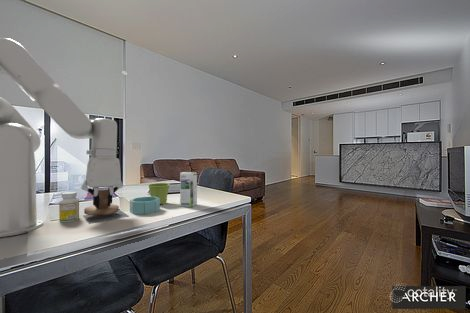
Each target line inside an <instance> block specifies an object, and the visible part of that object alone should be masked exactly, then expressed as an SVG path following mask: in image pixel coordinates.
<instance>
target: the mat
mask: <svg viewBox="0 0 470 313" xmlns="http://www.w3.org/2000/svg"><path fill="white" fill-rule="evenodd" d="M82 217H83V218H84V219H85V221H86V222H87V223H88V224H89V225H90V224H95V223H101V222H107V221H112V220H118V219H124V218H128V217H130V216H129V215H128V214H126V213H125V212H124V211H122V210H121V209H119V210H118V211H117V212H115V213H112V214H108V215H87V214H85V215H82Z"/></svg>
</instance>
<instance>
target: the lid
mask: <svg viewBox="0 0 470 313" xmlns="http://www.w3.org/2000/svg"><path fill="white" fill-rule="evenodd" d="M108 195H109V190H108V188H100V189H98V196H99V207H98V208H96V207H95V205H93V204H92V205H88V206H86V207H85V208H84V214H85V215H108V214H112V213H115V212H117V211H118V210H120V208H119V205H117V204H113V203H112V204H110V207H108Z"/></svg>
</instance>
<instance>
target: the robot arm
mask: <svg viewBox="0 0 470 313" xmlns="http://www.w3.org/2000/svg"><path fill="white" fill-rule="evenodd" d="M0 75H5V76H8V77H9V78H10V79H11V80H12V81H13V82H14V83H15V84H16V86H18V87H19V88H20V89H21V91H22V92H24V93H25V95H27V97H29V99H30V100H31V101H32V102H34V103H35V104H37V105H38V106H39V107H40V108H41V109H42V110H43V111H44V112H45V113H46V114H47V115H48V116H49V117H50V118H51V119H52V120H53V121H54V122H55V124H57V125H58V126H59V127H60V128H61V129H62V130H63V131H64V133H65V134H67V135H68V136H69V137H71V138H73V139H77V140H80V139H82V140H84V139H91V148H90V150H88V149H87V150H86V155H89V156H90V157H89V159H88V160H87V161H88V162H87V165H86V166H87V167H86V174H85V180H84V182H83V183H82V185H81V186H80V189H81V190H83V191H85V192H87V193H89V194H91V195H92V206H93V205H95V207H96V208H98V207H99V196H98V189H99V188H107V189H108V190H109V195H108V207H110V204H113V195H114V194H115V193H116V192H117V191H118V190H120V189H122V188H123V187H125V186H124V183H123V181H122V179H121V177H122V176H121V175H122V174H121V164H120V163H121V162H120V159H119V158H117V144H118V142H117V141H118V123H117V121H115V120H114V119H109V118H100V117H99V118H95V119H90V118H89V117H88V116H87V115H86V114H85V113H84V112H83V111H82V109H80V107H79V106H78V105H77V104H76V102H74V101H73V100H72V99H71V97H70V96H68V94H66V92H65V91H64V90H63V89H62V88H61V86H60V85H59V84H58V82H56V80H55V79H54V78H53V77H52V76H51V75H50V74H49V73H48V72H47V71H46V70H45V68H43V67H42V65H41V64H40V63H39V62H38V61H37V60H36V59H35V58H34V57H33V56H32V55H31V53H30V52H29V51H28V50H27V49H26V48H25V47H24V46H23V45H21V43H19V42H17V41H16V40H13V39H11V38H6V37H0ZM40 145H41V138H40V135H39V133H38V132H37V131H36V130H35V129H34V128H33V127H32V126H31V125H30V123H29V122H28V121H27V120H26V119H25V118H24V116H23V115H22V114H21V113H20V112H19V111H18V110H17V109H16V108H15V107H14V106H13V105H12V104H11V103H10V102H9V101H8V100H6V99H5V98H3V97H1V96H0V238H5V237H12V236H18V235H22V234H26V233H29V232H30V231H33V230H36V229H39V228H40V227H42V226H44V221H43V220H40V219H37V218H38V217H37V216H38V215H37V214H38V212H37V211H38V210H37V176H36V174H37V173H36V171H37V170H36V159H35V158H36V156H35V152H36V151H38V150H39V148H40Z"/></svg>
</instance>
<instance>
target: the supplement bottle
mask: <svg viewBox="0 0 470 313" xmlns="http://www.w3.org/2000/svg"><path fill="white" fill-rule="evenodd" d="M58 203H59V204H58V205H59V207H58V208H59V222H61V223H68V222H73V221H77V220H79V219H80V199H79V198H77V191H66V192H62V193H61V199H60V200H59V202H58Z"/></svg>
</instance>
